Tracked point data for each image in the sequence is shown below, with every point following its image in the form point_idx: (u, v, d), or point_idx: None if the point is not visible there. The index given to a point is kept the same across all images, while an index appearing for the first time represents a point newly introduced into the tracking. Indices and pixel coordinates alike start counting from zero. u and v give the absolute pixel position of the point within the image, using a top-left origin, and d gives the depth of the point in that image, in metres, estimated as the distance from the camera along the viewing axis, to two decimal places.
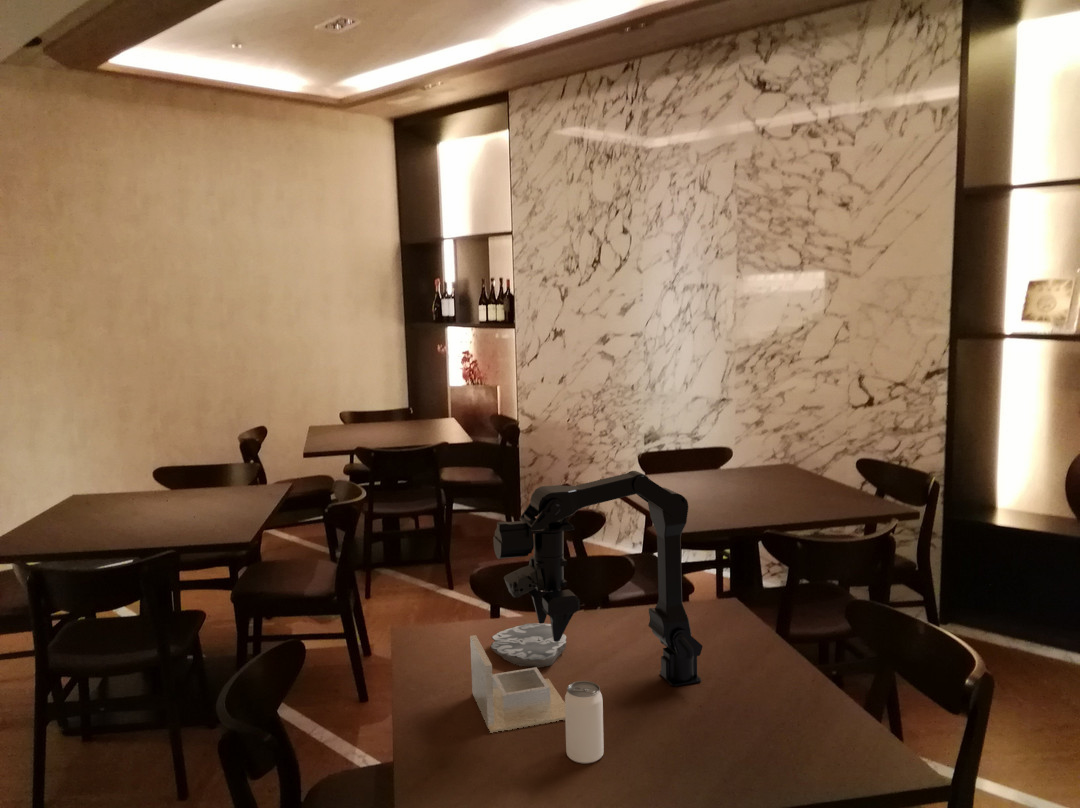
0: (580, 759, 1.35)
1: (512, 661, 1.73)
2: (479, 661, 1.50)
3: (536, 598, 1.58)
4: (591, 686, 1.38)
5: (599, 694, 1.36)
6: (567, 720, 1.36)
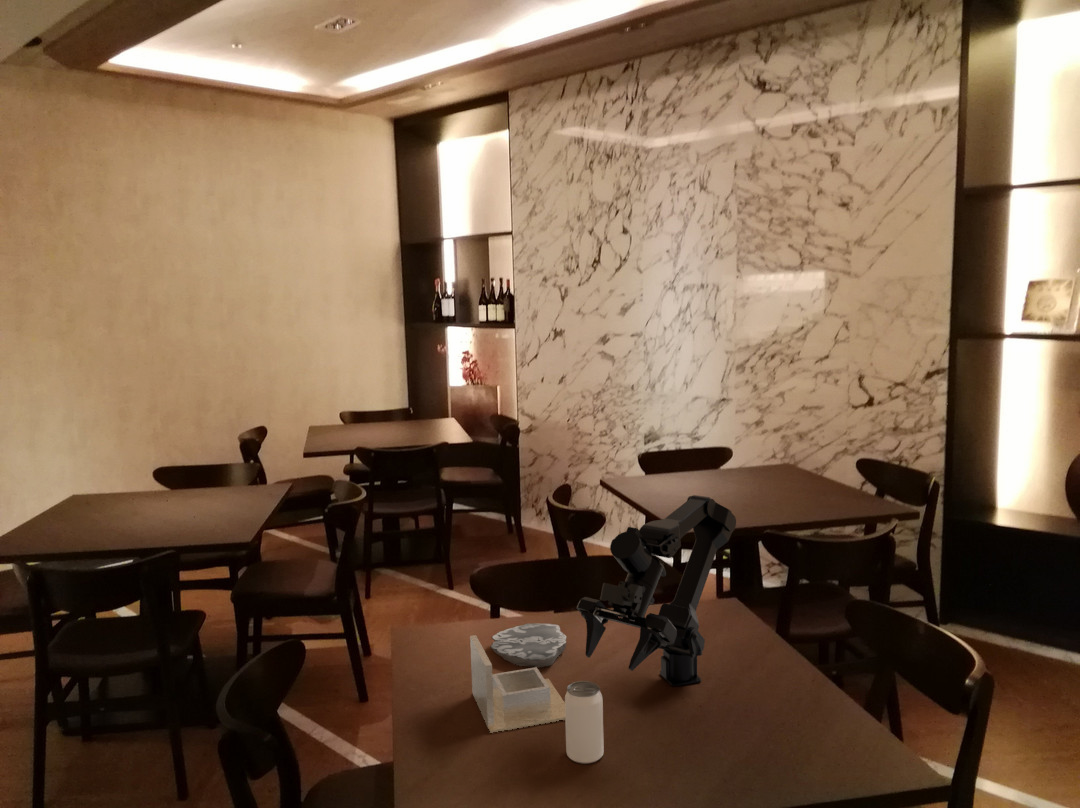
0: (580, 759, 1.35)
1: (512, 661, 1.73)
2: (479, 661, 1.50)
3: (594, 628, 1.47)
4: (591, 686, 1.38)
5: (599, 694, 1.36)
6: (567, 720, 1.36)
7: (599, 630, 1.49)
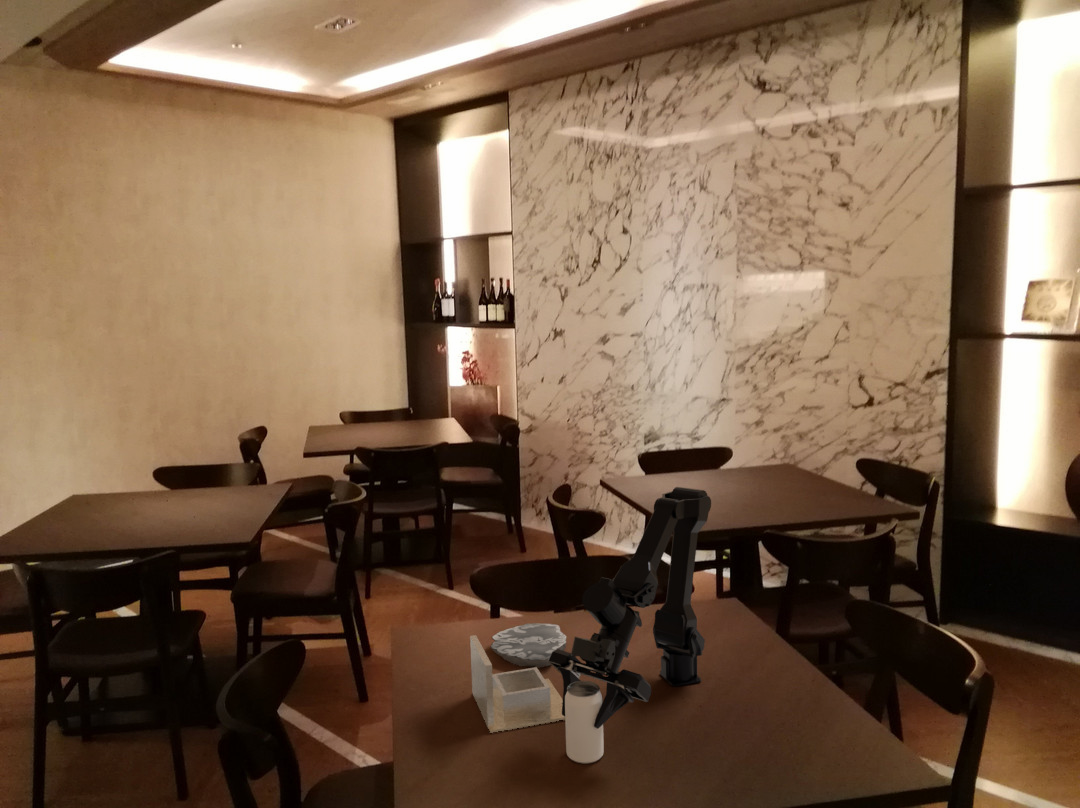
0: (580, 759, 1.35)
1: (512, 661, 1.73)
2: (479, 661, 1.50)
3: None
4: (591, 686, 1.38)
5: (599, 694, 1.36)
6: (567, 720, 1.36)
7: None
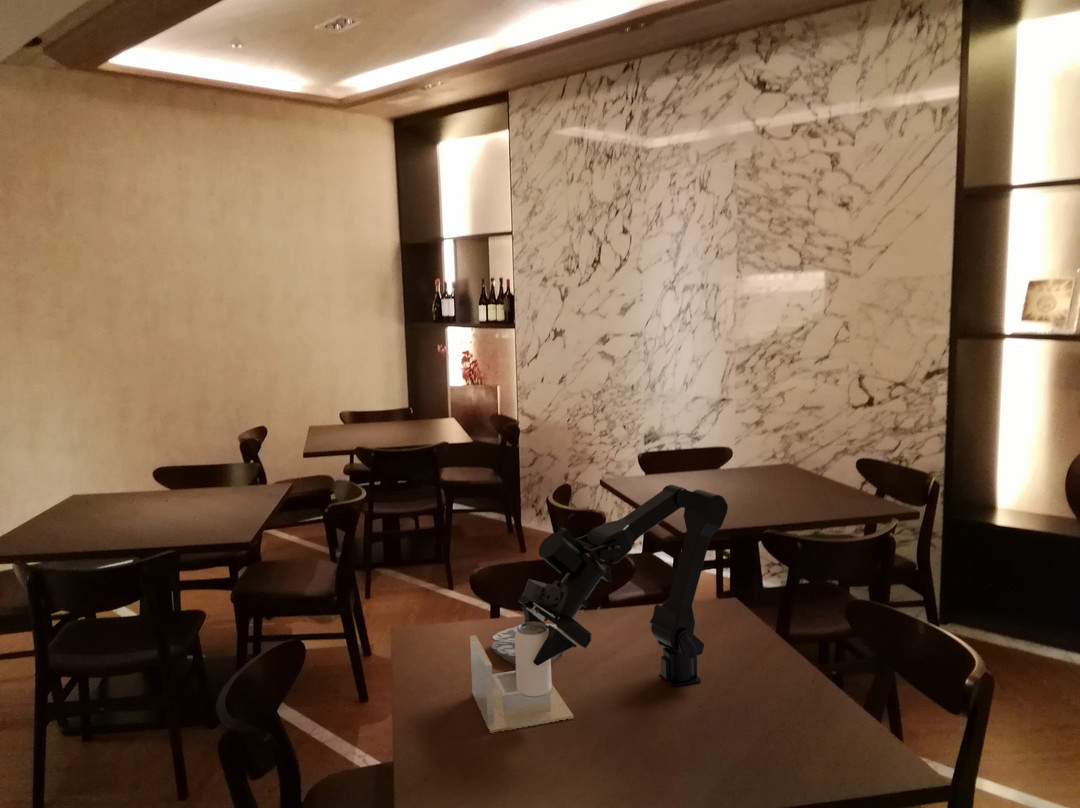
0: (522, 691, 1.45)
1: (512, 661, 1.73)
2: (479, 661, 1.50)
3: None
4: (542, 628, 1.47)
5: (543, 635, 1.45)
6: (515, 654, 1.47)
7: None
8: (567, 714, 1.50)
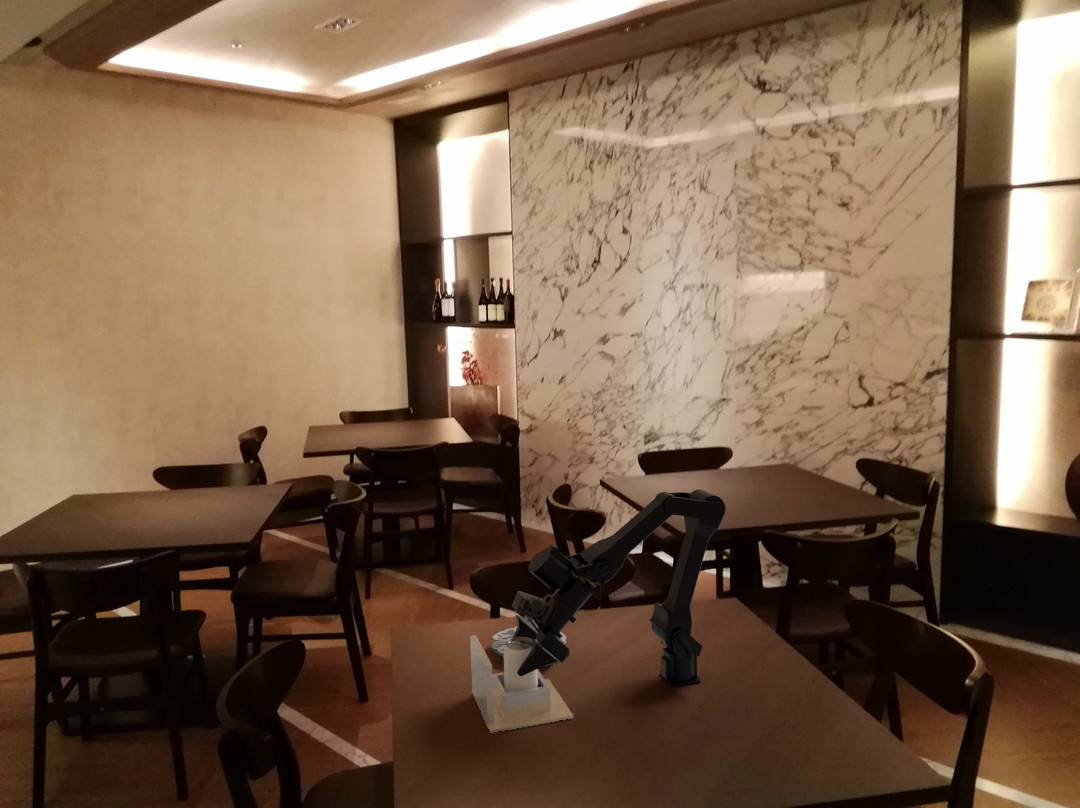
0: None
1: None
2: (479, 661, 1.50)
3: (520, 632, 1.59)
4: (529, 644, 1.54)
5: (528, 651, 1.52)
6: None
7: (528, 635, 1.59)
8: (567, 714, 1.50)
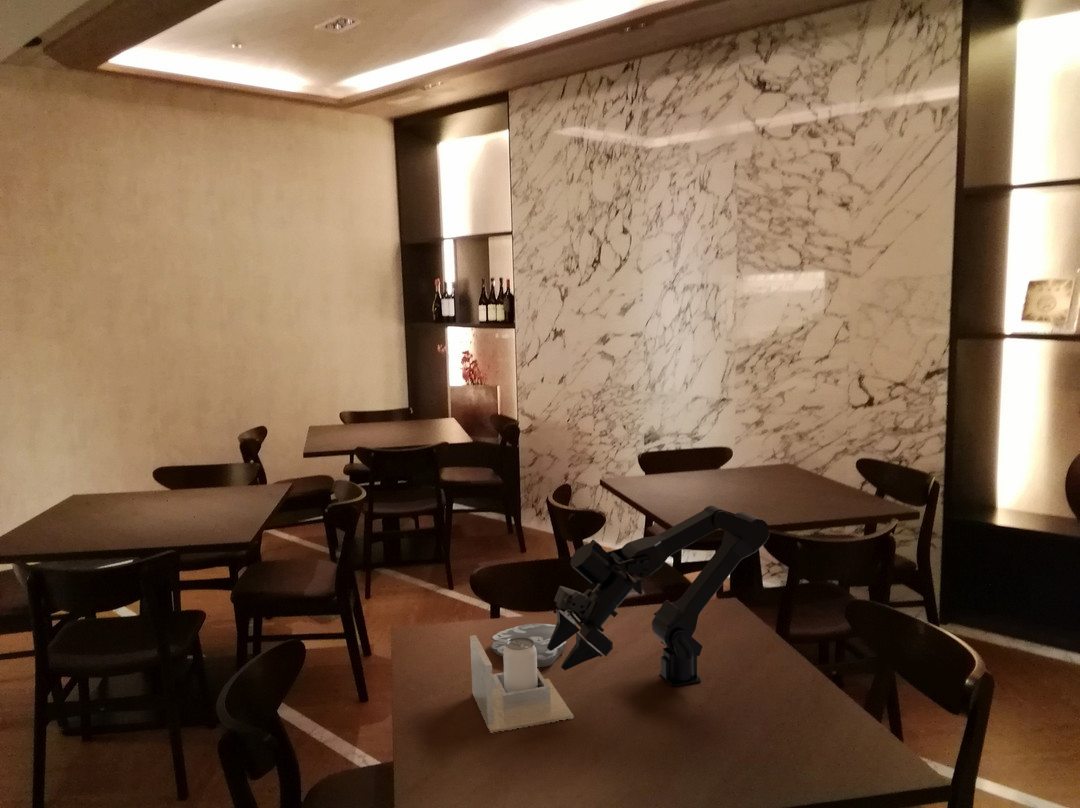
0: None
1: None
2: (479, 661, 1.50)
3: (560, 626, 1.61)
4: (529, 644, 1.54)
5: (528, 651, 1.52)
6: None
7: (569, 629, 1.62)
8: (567, 714, 1.50)
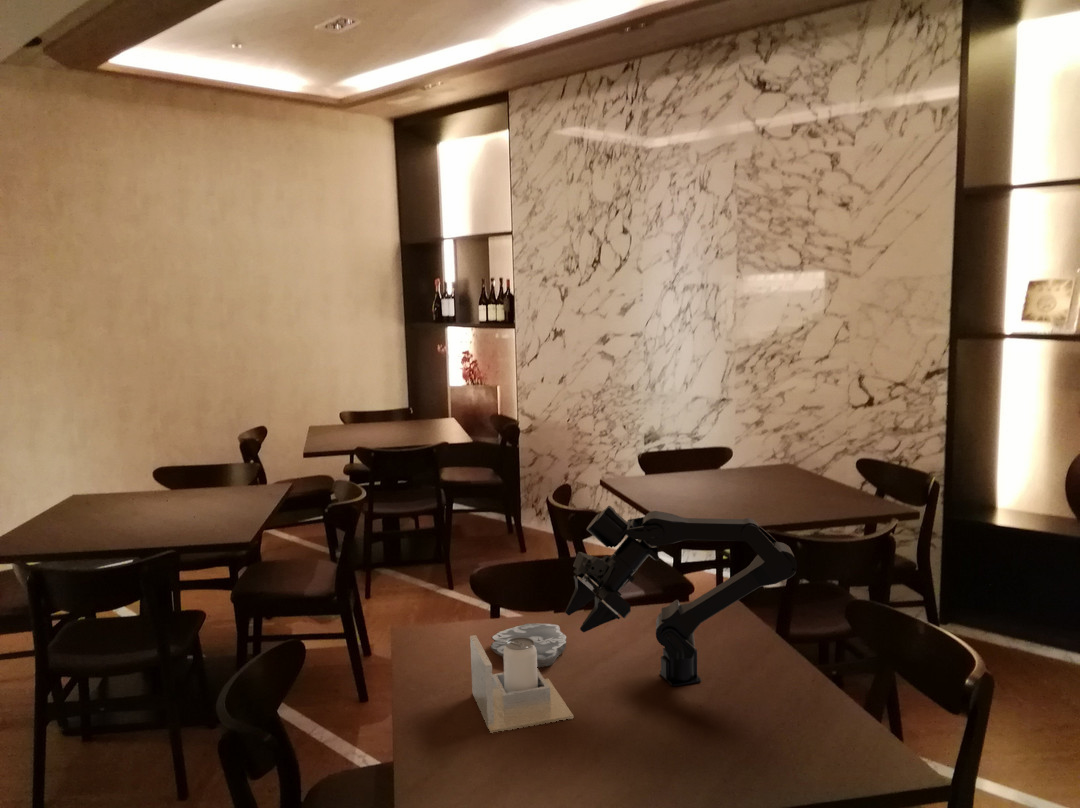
0: None
1: None
2: (479, 661, 1.50)
3: (578, 591, 1.66)
4: (529, 644, 1.54)
5: (528, 651, 1.52)
6: None
7: (586, 595, 1.67)
8: (567, 714, 1.50)
